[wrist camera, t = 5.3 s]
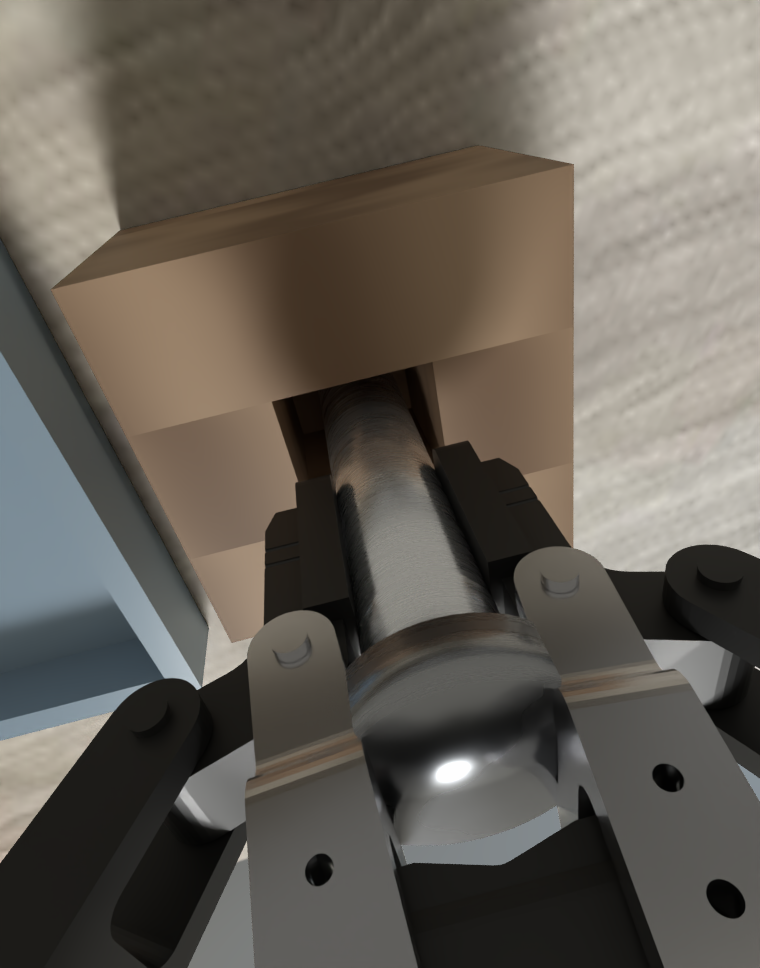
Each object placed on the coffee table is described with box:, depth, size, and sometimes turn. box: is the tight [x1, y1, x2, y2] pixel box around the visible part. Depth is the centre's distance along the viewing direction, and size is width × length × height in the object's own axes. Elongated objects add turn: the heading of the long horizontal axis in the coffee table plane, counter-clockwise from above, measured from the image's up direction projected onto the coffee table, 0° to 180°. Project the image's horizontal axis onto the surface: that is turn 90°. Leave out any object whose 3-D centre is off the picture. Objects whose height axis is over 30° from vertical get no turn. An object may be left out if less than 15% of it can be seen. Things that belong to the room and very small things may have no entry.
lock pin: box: [318, 372, 562, 846], centre depth 12 cm, size 3×3×12 cm
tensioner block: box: [51, 145, 574, 643], centre depth 16 cm, size 10×10×6 cm
